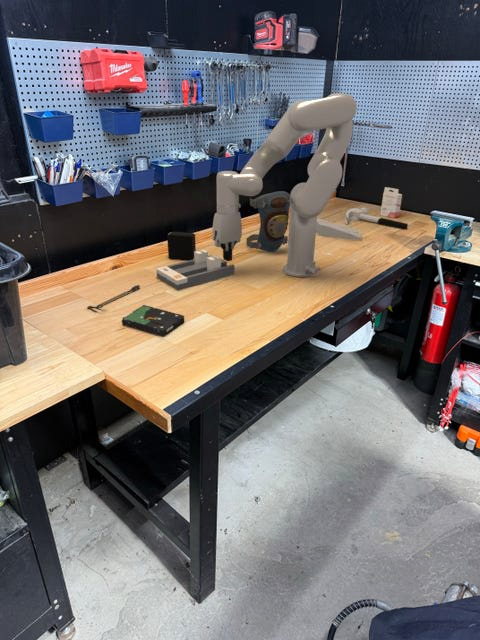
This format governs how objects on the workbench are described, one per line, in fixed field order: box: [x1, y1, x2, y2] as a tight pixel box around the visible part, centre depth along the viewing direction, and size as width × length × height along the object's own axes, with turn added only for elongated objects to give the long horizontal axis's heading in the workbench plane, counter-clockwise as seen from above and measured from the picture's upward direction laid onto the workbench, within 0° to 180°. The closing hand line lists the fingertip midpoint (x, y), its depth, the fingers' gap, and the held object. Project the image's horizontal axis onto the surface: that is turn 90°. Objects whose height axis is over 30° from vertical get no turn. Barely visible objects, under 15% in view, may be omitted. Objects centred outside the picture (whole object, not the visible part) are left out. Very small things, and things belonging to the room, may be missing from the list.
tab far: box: [193, 249, 209, 264], centre depth 166 cm, size 3×4×5 cm
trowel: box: [316, 217, 362, 242], centre depth 210 cm, size 28×16×5 cm, turn 44°
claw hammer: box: [344, 206, 409, 231], centre depth 226 cm, size 6×22×30 cm
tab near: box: [207, 254, 222, 271], centre depth 161 cm, size 3×4×5 cm
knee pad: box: [245, 190, 291, 253], centre depth 185 cm, size 18×20×25 cm
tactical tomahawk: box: [86, 284, 141, 313], centre depth 144 cm, size 21×7×1 cm, turn 145°
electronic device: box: [166, 231, 197, 262], centre depth 177 cm, size 4×10×10 cm, turn 79°
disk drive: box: [121, 304, 185, 338], centre depth 130 cm, size 10×3×15 cm
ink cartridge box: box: [380, 186, 403, 219], centre depth 238 cm, size 9×5×15 cm, turn 43°
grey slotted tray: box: [156, 254, 236, 291], centre depth 162 cm, size 14×24×4 cm, turn 128°
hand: (227, 259), depth 164 cm, fingers closed
